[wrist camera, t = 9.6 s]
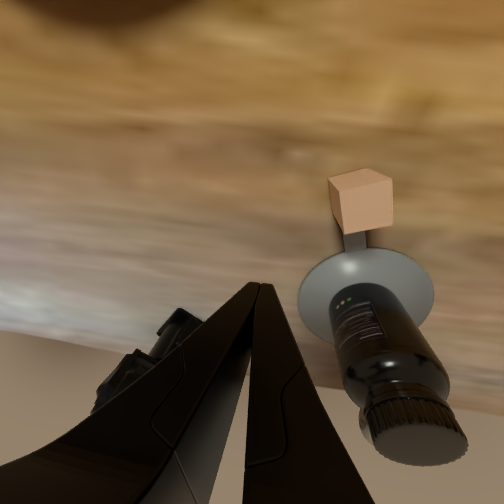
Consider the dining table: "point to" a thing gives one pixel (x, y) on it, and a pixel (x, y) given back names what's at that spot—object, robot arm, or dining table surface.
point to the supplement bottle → (394, 377)
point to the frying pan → (362, 255)
